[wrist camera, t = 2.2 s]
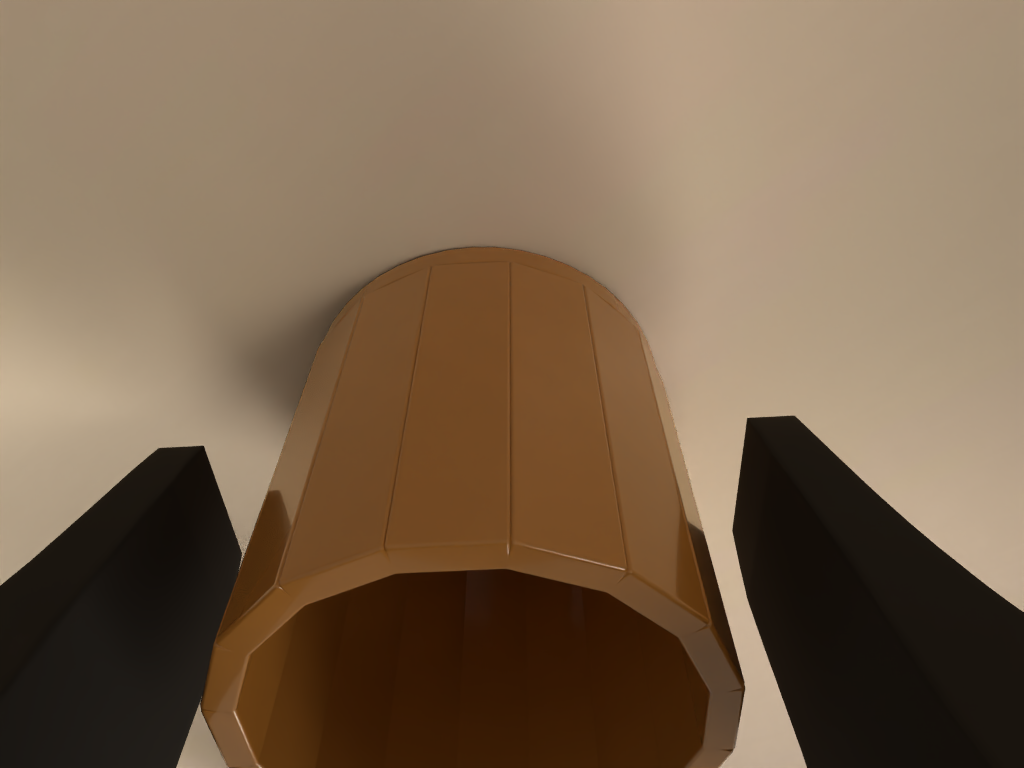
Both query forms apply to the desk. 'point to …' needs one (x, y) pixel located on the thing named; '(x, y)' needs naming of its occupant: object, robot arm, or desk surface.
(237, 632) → the orange tumbler
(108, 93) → the desk surface
